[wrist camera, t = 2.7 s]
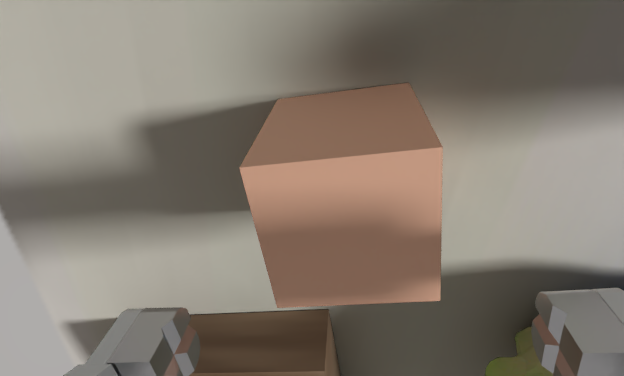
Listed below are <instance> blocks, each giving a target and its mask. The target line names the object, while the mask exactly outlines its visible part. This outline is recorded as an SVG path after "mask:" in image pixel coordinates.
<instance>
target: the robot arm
mask: <svg viewBox="0 0 624 376" xmlns="http://www.w3.org/2000/svg"><path fill="white" fill-rule="evenodd" d="M535 307H536V308H537V310H538V312H539V315H538V316H537V317H536V318H534V319H533V320H532V329H531V334H532V341H533V346H534V349H535V352H536V355H537V357H538V359H539V361H540V363H541V365H542V366H543V367H545V368H546V369H547V370H549V371H550V372H551V373H553V376H624V291H623V290H621V289H619V288H603V289H591V290H588V289H586V290H567V291H547V292H539V294H538V295H537V296H536V302H535ZM190 320H191V317H190V315H189V313H188V310H187V309H186V308H145V309H127V310H125V311H123V312H122V313H121V314H120V315H119V317H118V318H117V320H116V321H115V322H114V324H113V325H112V327H111V328H110V329H109V331H108V332H107V334H106V335H105V337H104V338H103V339H102V341H101V342H100V344H99V345H98V346H97V348H96V349H95V351H94V352H93V353H92V355H91V356H90V358H89V359H88V360H87V362H86V363H85V364H83V365H78V366H76V367H75V368H73V369H72V370H70V371H69V372H68V373H66V374H65V375H63V376H189V375H190V374H191V373H192V372H194V371H195V368H196V365H197V363H198V360H199V353H200V341H199V337H198V334H197V331H195V330H194V329H193V328H191V327H190V326H189V325H188V324H189V322H190Z"/></svg>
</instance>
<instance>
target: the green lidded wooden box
mask: <svg viewBox="0 0 624 376" xmlns="http://www.w3.org/2000/svg"><path fill="white" fill-rule="evenodd" d="M190 317H191V320H190V322H189V324H188V325H189V326H190V327H191V328H193V329H194V330H195V331H197V334H198V337H199V341H200V353H199V360H198V363H197V365H196V368H195V371H194V372H192V373H191V374H190V375H189V376H341V374H340V369H339V363H338V358H337V353H336V347H335V342H334V336H333V331H332V325H331V320H330V314H329V310H305V311H281V312H256V313H231V314H207V315H190Z"/></svg>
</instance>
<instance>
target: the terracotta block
mask: <svg viewBox="0 0 624 376" xmlns="http://www.w3.org/2000/svg"><path fill="white" fill-rule="evenodd" d="M442 156H443V147H442V145H441V143H440V141H439V139H438V137H437V135H436V133H435V132H434V130H433V128H432V126H431V124H430V122H429V120H428V118H427V116H426V114H425V112H424V111H423V109H422V107H421V105H420V103H419V101H418V99H417V97H416V95H415V93H414V91H413V90H412V88H411V86H410V84H409V83H402V84H394V85H386V86H378V87H370V88H362V89H354V90H346V91H339V92H331V93H323V94H315V95H307V96H299V97H291V98H284V99H278V100H277V101H276V103H275V105H274V107H273V109H272V110H271V112H270V114H269V116H268V117H267V119H266V121H265V123H264V125H263V126H262V128H261V130H260V132H259V133H258V135H257V137H256V139H255V141H254V142H253V144H252V146H251V148H250V149H249V151H248V153H247V155H246V157H245V158H244V160H243V162H242V164H241V165H240V167H239V169H240V173H241V176H242V180H243V184H244V187H245V191H246V195H247V198H248V202H249V206H250V209H251V213H252V217H253V220H254V224H255V228H256V231H257V235H258V239H259V242H260V246H261V250H262V253H263V257H264V261H265V264H266V268H267V272H268V275H269V279H270V283H271V286H272V290H273V294H274V297H275V301H276V305H277V308H286V307H309V306H332V305H355V304H378V303H402V302H425V301H440V290H441V223H442Z"/></svg>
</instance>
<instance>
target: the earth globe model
mask: <svg viewBox="0 0 624 376" xmlns="http://www.w3.org/2000/svg"><path fill="white" fill-rule="evenodd" d="M531 329H532V327H527V328H525V329H524V330H522V331H520V332H518V333H516V337H515V342H516V351H517V354H518V355H517V356H516V357H498V358H496V359H494V360H492V361H490V362H489V364H488V366H487V368H486V370H485V376H553V373H551V372H550V371H549V370H547V369H546V368H545V367H543V366H542V365H541V363H540V361H539V359H538V357H537V355H536V352H535V349H534V346H533V341H532V334H531Z"/></svg>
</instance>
